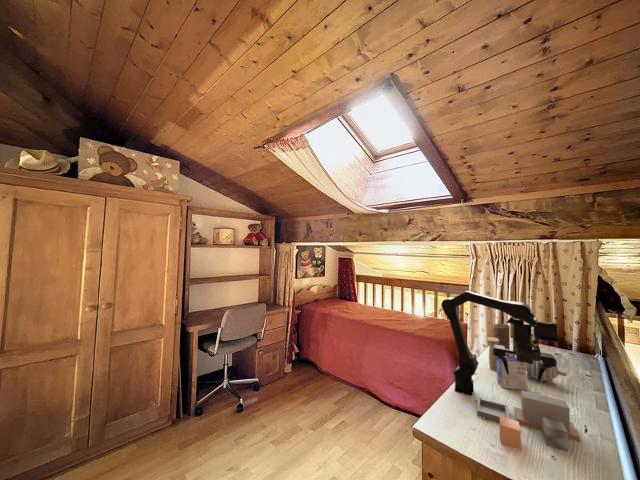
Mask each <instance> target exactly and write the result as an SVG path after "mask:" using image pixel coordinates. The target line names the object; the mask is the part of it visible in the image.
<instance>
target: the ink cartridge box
mask: <svg viewBox="0 0 640 480" xmlns="http://www.w3.org/2000/svg"><path fill="white" fill-rule="evenodd" d="M496 357H497V356H496ZM506 359H507V365H508V371H509V375H507V372H506V369H505V367H504V364H503V362H502V360H501V359H499V358H497V370H496V372H497V374H496V376H497V377H496V379H497V384H498V385H499V386H500V388H501V389H502V388H503V389H511V390H513V389H514V390H520V391H521V390H522V391H527V389H528V386H527V383H528V382H527V381H528V380H527V379H528V378H527V371H526V363H525V362H519V361H517V358H516V356H513V355H507V354H506Z"/></svg>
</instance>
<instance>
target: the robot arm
mask: <svg viewBox="0 0 640 480" xmlns="http://www.w3.org/2000/svg"><path fill="white" fill-rule="evenodd" d="M467 302H471V303H475V304H477V305H480V306H485V307H487V308H491V309H494V310H497V311H501V312H502V313H505V314H506V315H508V316H510V317H509V318H508V319H507V320H506V324H511V325H512V349H510V350H508V349H505V347H504V346H501V345H495V344H494V345H493V355H495V356H497V358H499V359H501V360H502V362H503V364H504V367H505V369H506V372H507V375H509V371H508V365H507V359H506V354H507V355H510V356H515V357H516V358H517V361H519V362H525V363H529V364H533V363H534V361H538V370H537V378H536V380H537V381H538V382H540V381H541V380H540V379H541V377H542V375H543V373H544V371H545V370H546V369H547V368H552V367H557V359H556V358H555V356H554V355H553V354H552V353H549V352H542V351H541V350H540V351H539V350H534V348H533V349H532V339H533V338H532V334H533V337H534V336H536V338H538V339H539V341H546V342H551V343H557V344H558V343H559V332H558V324H557V322H550V321H549V322H548V321H541V320H540V321H539V320H538V318H537V317H536V316H535V315H534V314H533V313H532V309H531V306H530V305H529V304H528V303H525V302H521V301H512V300H502V299H499V298H495V297H491V296H488V295H484V294H481V293H476V292H472V291H470V290H466V291H464V292H462V293H461V294H459V295H457V296H455V297H453V296H449V297H447V298H445V299H444V300H442V302H441V308H442V310H443V313H444V315H445V316H446V318H447V319H448V320H449V323H450V327H451V330H452V334H453V338H454V341H455V345H456V348H457V351H458V365H457V367H455V369H454V371H453V375H454V391H455V392H457V393H461V394H465V395H469V396H473V393H474V392H475V391H474V379H473V376H474V375H475V374H476V372H477V370H478V366H479V362H478V360H477V359H478V358H477V354H476V353H475V354H473V353H472V352H471V350H470V347H469V346H468V345H469V344H468V341H467V338H466V335H465V332H464V328H463V324H462V321H461V318H460V316H461V315H460V313H461V312H460V311H461V310H460V306H461V305H463V304H465V303H467ZM532 328H533V333H532ZM557 368H558V367H557Z"/></svg>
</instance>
